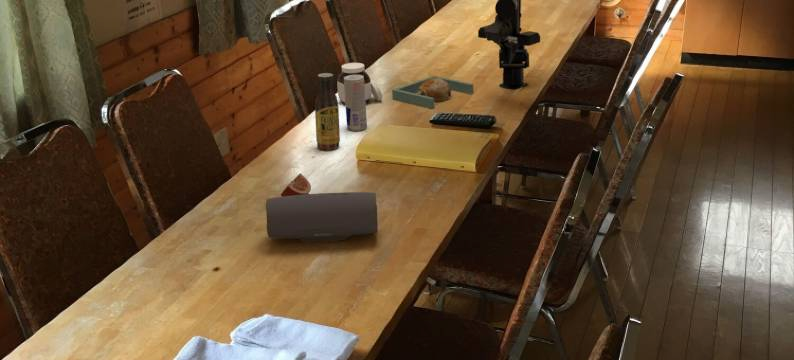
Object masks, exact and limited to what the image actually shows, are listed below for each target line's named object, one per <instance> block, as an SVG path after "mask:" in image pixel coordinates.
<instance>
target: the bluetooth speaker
mask: <svg viewBox="0 0 794 360" xmlns="http://www.w3.org/2000/svg"><path fill="white" fill-rule="evenodd" d="M265 212H266V214H265V215H266V234H267V237H268V238H270V239H293V240H294V239H298V240H299V241H300V242H302V243H317V242H318V243H319V242H321V243H322V242H337V241H344V240H345V241H346V240H349V237H350V236H358V235H367V234H372V233H377V232H379V228H378V226H379V223H378V221H379V220H378V205H377V193H376V192H368V191H367V192H366V191H364V192H363V191H360V192H359V191H357V192H355V191H353V192H352V191H351V192H348V191H347V192H323V193H322V192H320V193H310V194H309V193H308V194H305V195H293V196H283V197H282V196H277V197H270V198H266V201H265Z"/></svg>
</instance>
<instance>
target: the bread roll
mask: <svg viewBox="0 0 794 360" xmlns="http://www.w3.org/2000/svg"><path fill="white" fill-rule="evenodd" d="M417 94H419V95H423V96H427V97H431V98H434V103H440V101H441V102H445V101H448V100H450V99H451V94H452V90H451V88H450V86H449V84H448V83H447V82H446V81H445V80H442V79H441V78H431V79H428V80H426V81H425V82H423V83H422V84H421V86H420V87H419V88H418V92H417Z"/></svg>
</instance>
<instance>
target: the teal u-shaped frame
mask: <svg viewBox="0 0 794 360" xmlns="http://www.w3.org/2000/svg"><path fill="white" fill-rule="evenodd" d="M431 78H441V79H442V80H445V81H446V82H447V83H448V84H449V86H450V88H451V91H454V92H459V93H463V94H467V95H473V94H474V84H473V83H469V82H465V81H461V80H457V79H453V78H452V79H451V78H448V77H442V76H438V75H432V76H429V77H426V78H425V77H424V78H423V79H419V80H416V81H413V82H410V83H407V84H405V85H402V86H399V87H397V88H393V89H392V90H391V92H392V93H391V94H392V95H391V96H392V100H394V101H397V102H403V103H406V102H407V104H410V103H412V104H411V105H414V104H416V105H415V106H418V105H419V106H418V107H422V106H423V108H426V107H428V108H427V109H430V108H431V110H432V108H433V109H435V102H434V98H431V97H427V96H423V95H419V94H418V88H419V87H420V86H421V84H422V83H423V82H425V81H426V80H428V79H431ZM415 92H416V93H415Z"/></svg>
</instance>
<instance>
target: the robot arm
mask: <svg viewBox="0 0 794 360" xmlns="http://www.w3.org/2000/svg"><path fill="white" fill-rule="evenodd" d="M494 10H495V18H494V22H492V23H490V24H488V25H484V26H482V27H479V29H478V31H477V37H478V38H479V39H486V41H488V42H490V41H491V42H493V43H495V44H496V45H497V46H499V48H500V49H499V50H498V51H499V52H498V64H499V66H498V67H499V69H503V70H502V71H503V72H502V83H500V84H499V85H498V86H499V87H503V88H507V89H512V90H518V89H520V88H522V87H526V86H528V83H527V82H525V81H524V79H525V78H524V75H525V73H524V69H527V68H530V53H529V52H528V49H527V48H526V47H529V46H533V45H536V44H538V43H541V35H540V33H539V32H537V31H531V30H527V31H524V32H522V27H521V21H522V20H521V18H522V0H497V1H496V3H495V6H494ZM521 32H522V33H521Z"/></svg>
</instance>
